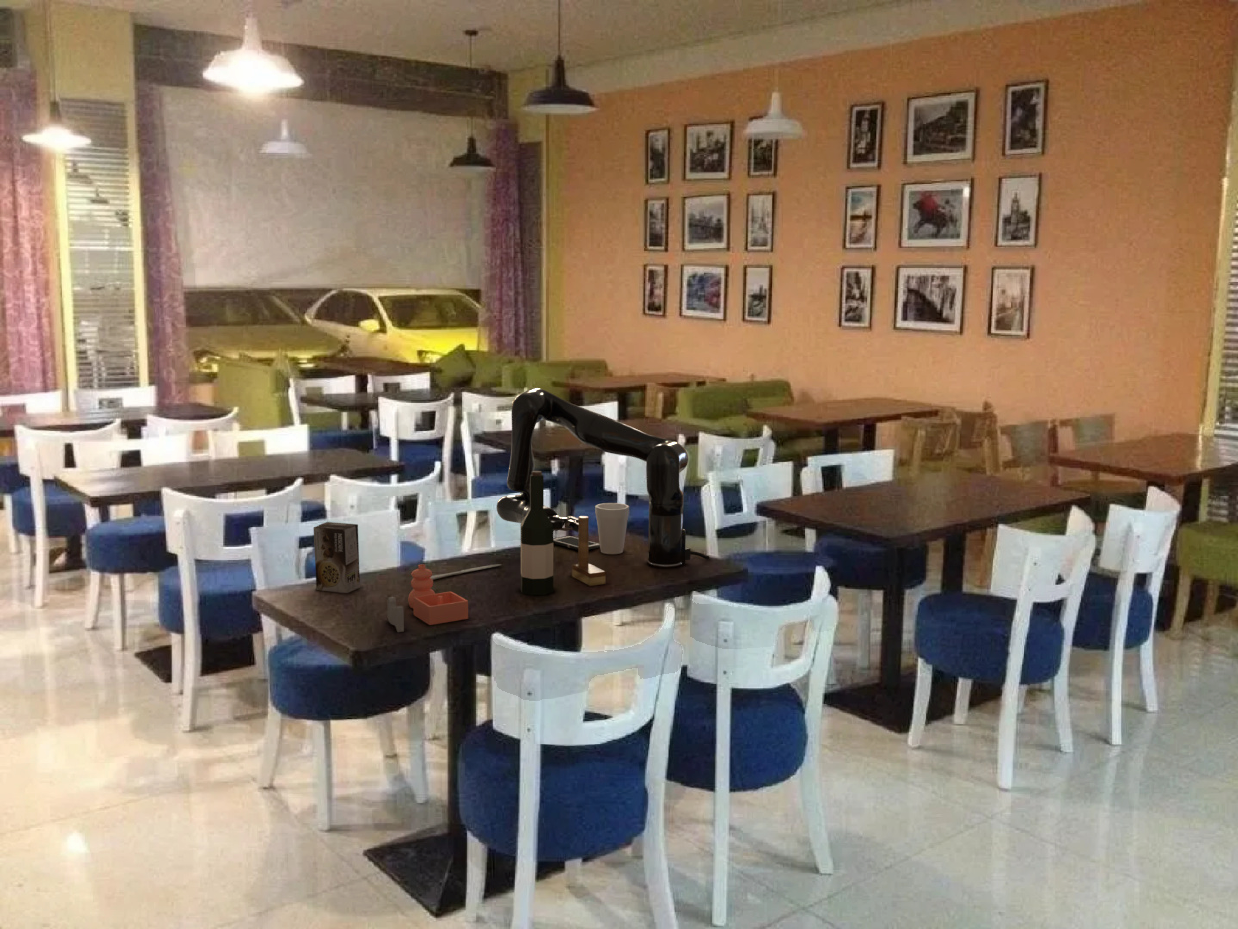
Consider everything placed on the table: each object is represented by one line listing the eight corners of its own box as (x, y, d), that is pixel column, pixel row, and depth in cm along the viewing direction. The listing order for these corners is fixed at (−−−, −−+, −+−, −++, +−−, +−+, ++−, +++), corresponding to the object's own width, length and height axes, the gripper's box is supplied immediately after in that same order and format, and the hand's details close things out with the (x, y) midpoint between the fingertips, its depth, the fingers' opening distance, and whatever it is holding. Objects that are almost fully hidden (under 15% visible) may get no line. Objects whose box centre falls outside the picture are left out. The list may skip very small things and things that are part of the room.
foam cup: (594, 547, 332) (594, 503, 329) (626, 547, 333) (626, 502, 330) (597, 555, 322) (597, 510, 320) (630, 555, 323) (630, 509, 321)
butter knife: (420, 577, 296) (426, 579, 294) (498, 562, 311) (504, 565, 309) (420, 578, 296) (426, 581, 294) (498, 564, 311) (504, 566, 309)
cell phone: (568, 538, 342) (568, 535, 342) (602, 547, 331) (602, 544, 331) (548, 542, 337) (548, 539, 337) (581, 551, 326) (581, 548, 326)
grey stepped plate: (397, 632, 253) (386, 619, 262) (404, 631, 254) (392, 618, 263) (397, 607, 252) (386, 595, 261) (403, 606, 253) (392, 594, 262)
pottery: (468, 618, 264) (467, 576, 262) (429, 625, 259) (428, 582, 257) (435, 599, 279) (435, 559, 277) (398, 605, 274) (397, 564, 272)
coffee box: (361, 587, 288) (359, 524, 286) (346, 594, 282) (345, 529, 280) (329, 583, 291) (327, 521, 289) (314, 590, 285) (312, 526, 283)
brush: (572, 576, 300) (572, 516, 298) (587, 574, 303) (587, 514, 300) (590, 586, 292) (590, 523, 289) (605, 583, 294) (606, 522, 291)
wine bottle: (548, 596, 282) (548, 475, 277) (516, 594, 284) (515, 473, 279) (557, 587, 290) (557, 469, 285) (525, 585, 292) (525, 468, 287)
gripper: (515, 507, 317) (541, 518, 303) (562, 502, 323) (589, 514, 309) (515, 534, 318) (541, 546, 304) (562, 529, 325) (589, 541, 311)
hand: (565, 530), depth 307 cm, fingers open, 8 cm apart
